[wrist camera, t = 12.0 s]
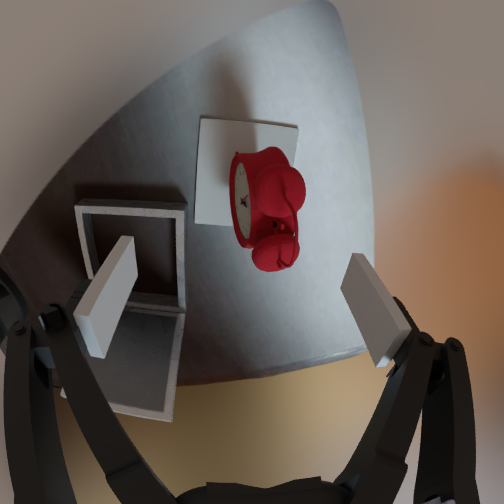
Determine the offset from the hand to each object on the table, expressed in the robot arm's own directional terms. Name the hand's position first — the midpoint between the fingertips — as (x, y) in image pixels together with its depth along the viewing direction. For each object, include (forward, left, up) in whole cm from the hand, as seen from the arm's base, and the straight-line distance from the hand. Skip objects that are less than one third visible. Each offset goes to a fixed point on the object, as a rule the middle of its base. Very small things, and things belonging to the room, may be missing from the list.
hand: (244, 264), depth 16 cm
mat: (0, 0, -19) cm, 19 cm away
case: (-14, -12, -19) cm, 26 cm away
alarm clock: (+2, 0, -18) cm, 18 cm away
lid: (-14, -19, -15) cm, 28 cm away
